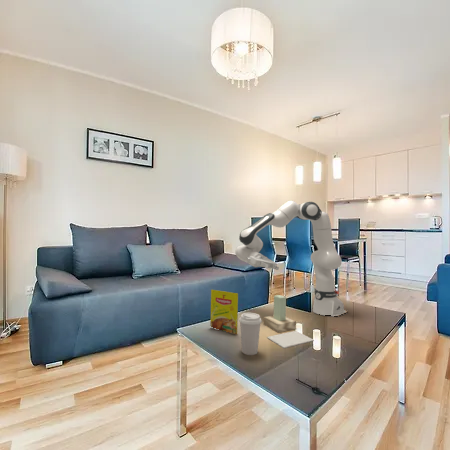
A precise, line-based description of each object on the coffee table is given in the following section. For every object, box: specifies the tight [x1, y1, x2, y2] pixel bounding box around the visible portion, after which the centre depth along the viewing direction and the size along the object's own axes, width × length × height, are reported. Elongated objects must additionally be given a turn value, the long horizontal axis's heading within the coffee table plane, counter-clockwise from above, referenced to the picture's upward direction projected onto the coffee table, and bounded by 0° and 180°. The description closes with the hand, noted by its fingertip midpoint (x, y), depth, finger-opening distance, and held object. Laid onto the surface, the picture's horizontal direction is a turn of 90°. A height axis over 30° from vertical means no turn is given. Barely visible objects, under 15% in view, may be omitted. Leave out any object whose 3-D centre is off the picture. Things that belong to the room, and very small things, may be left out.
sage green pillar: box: [273, 294, 287, 321], centre depth 139 cm, size 4×5×12 cm
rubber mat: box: [266, 330, 315, 349], centre depth 123 cm, size 18×12×1 cm, turn 118°
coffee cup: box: [238, 312, 263, 356], centre depth 110 cm, size 10×10×15 cm
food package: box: [209, 289, 239, 335], centre depth 131 cm, size 15×1×20 cm, turn 62°
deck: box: [263, 315, 297, 333], centre depth 139 cm, size 12×12×4 cm
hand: (273, 267), depth 148 cm, fingers open, 8 cm apart
